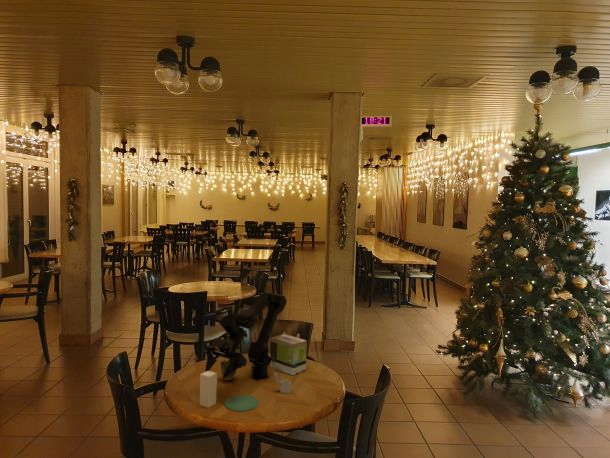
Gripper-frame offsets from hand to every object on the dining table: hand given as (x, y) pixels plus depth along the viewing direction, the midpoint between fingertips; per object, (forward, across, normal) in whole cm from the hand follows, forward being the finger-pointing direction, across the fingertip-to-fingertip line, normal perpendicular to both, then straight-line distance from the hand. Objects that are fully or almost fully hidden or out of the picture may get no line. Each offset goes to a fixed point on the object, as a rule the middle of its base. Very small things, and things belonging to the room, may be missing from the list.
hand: (214, 375), depth 169 cm
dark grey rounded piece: (-6, -9, +21) cm, 24 cm away
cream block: (+10, 0, +5) cm, 11 cm away
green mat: (+4, +10, +10) cm, 15 cm away
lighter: (-9, +17, +23) cm, 30 cm away
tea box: (-25, +5, +40) cm, 47 cm away
